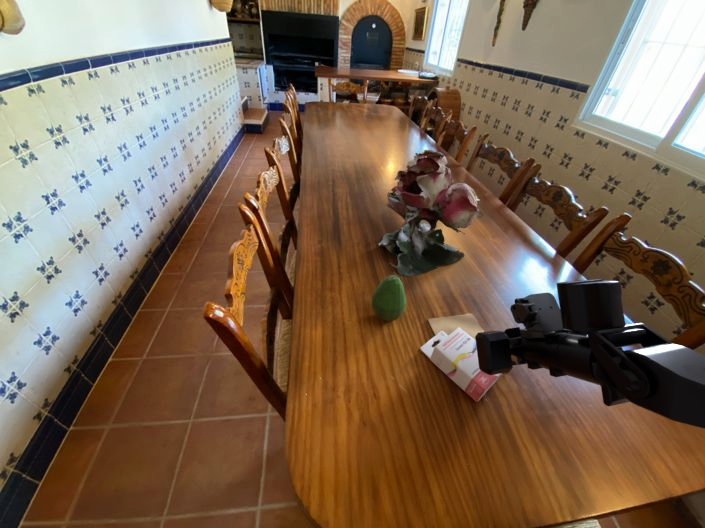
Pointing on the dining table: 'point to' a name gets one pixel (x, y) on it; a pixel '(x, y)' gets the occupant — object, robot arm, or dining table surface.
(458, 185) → the rose bouquet
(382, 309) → the avocado
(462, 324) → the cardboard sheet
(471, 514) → the dining table surface
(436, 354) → the ink cartridge box
